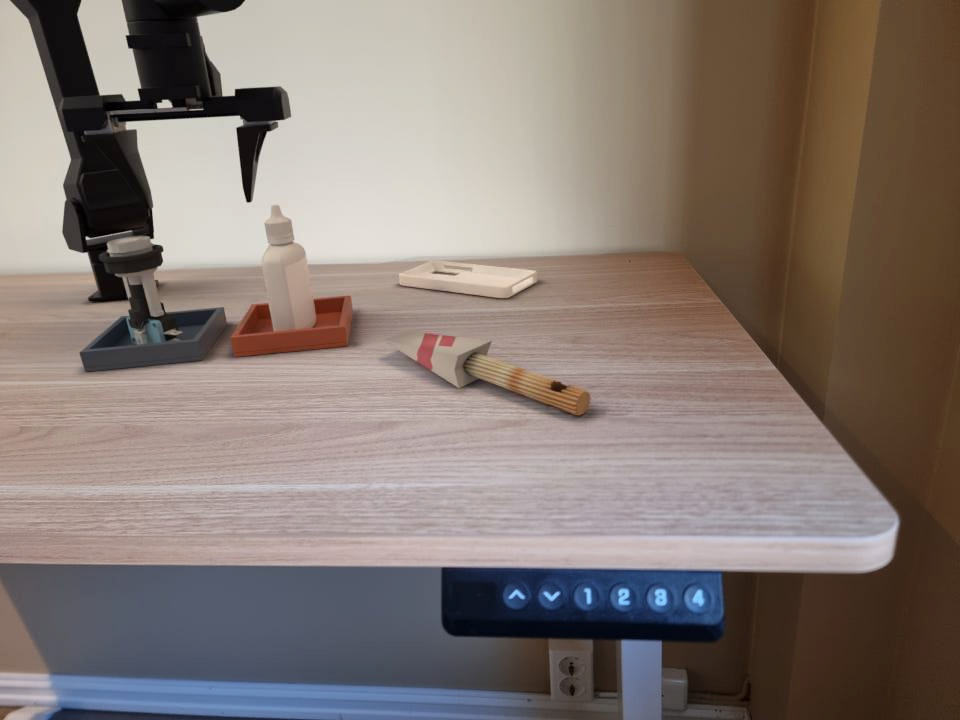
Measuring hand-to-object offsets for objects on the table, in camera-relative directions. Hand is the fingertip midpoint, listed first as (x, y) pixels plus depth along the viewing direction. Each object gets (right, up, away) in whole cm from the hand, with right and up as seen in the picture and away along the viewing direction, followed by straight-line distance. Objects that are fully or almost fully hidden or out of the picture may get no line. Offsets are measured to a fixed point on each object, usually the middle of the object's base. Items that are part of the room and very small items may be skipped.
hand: (200, 205), depth 65 cm
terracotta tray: (+9, -12, +2) cm, 15 cm away
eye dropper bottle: (+9, -12, +2) cm, 15 cm away
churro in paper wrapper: (+27, -17, -11) cm, 33 cm away
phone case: (+25, -6, +15) cm, 30 cm away
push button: (-4, -13, 0) cm, 14 cm away
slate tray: (-4, -13, +1) cm, 14 cm away
